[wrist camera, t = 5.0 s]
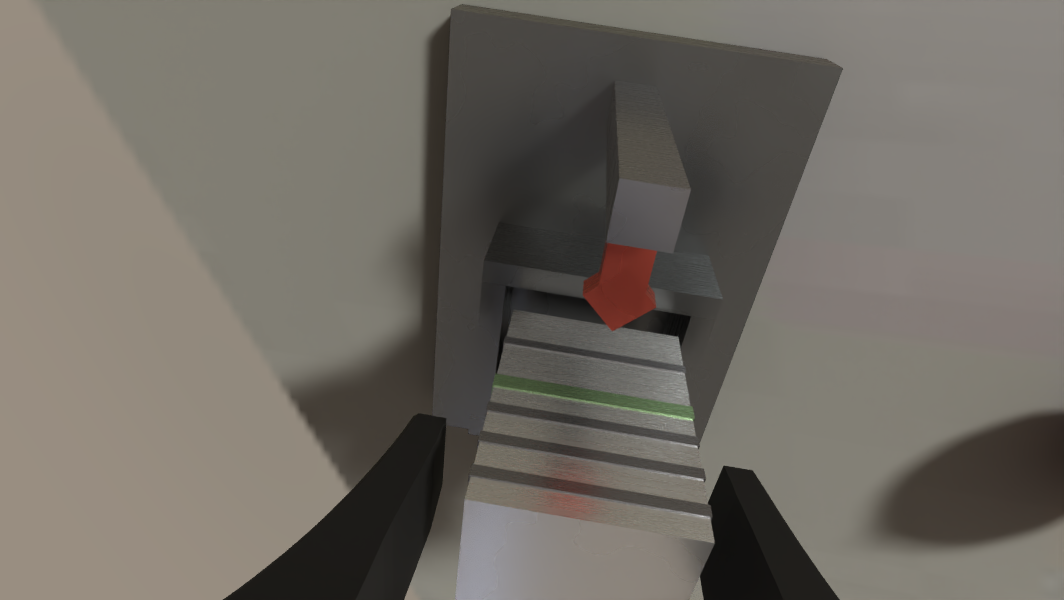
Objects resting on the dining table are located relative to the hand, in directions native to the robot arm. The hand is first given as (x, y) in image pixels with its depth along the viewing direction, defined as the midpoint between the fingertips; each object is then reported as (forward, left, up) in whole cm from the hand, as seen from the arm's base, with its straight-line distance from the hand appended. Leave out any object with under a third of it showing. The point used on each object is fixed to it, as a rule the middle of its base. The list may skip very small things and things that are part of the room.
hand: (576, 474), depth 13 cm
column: (0, 0, -3) cm, 3 cm away
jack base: (+1, +1, -7) cm, 7 cm away
